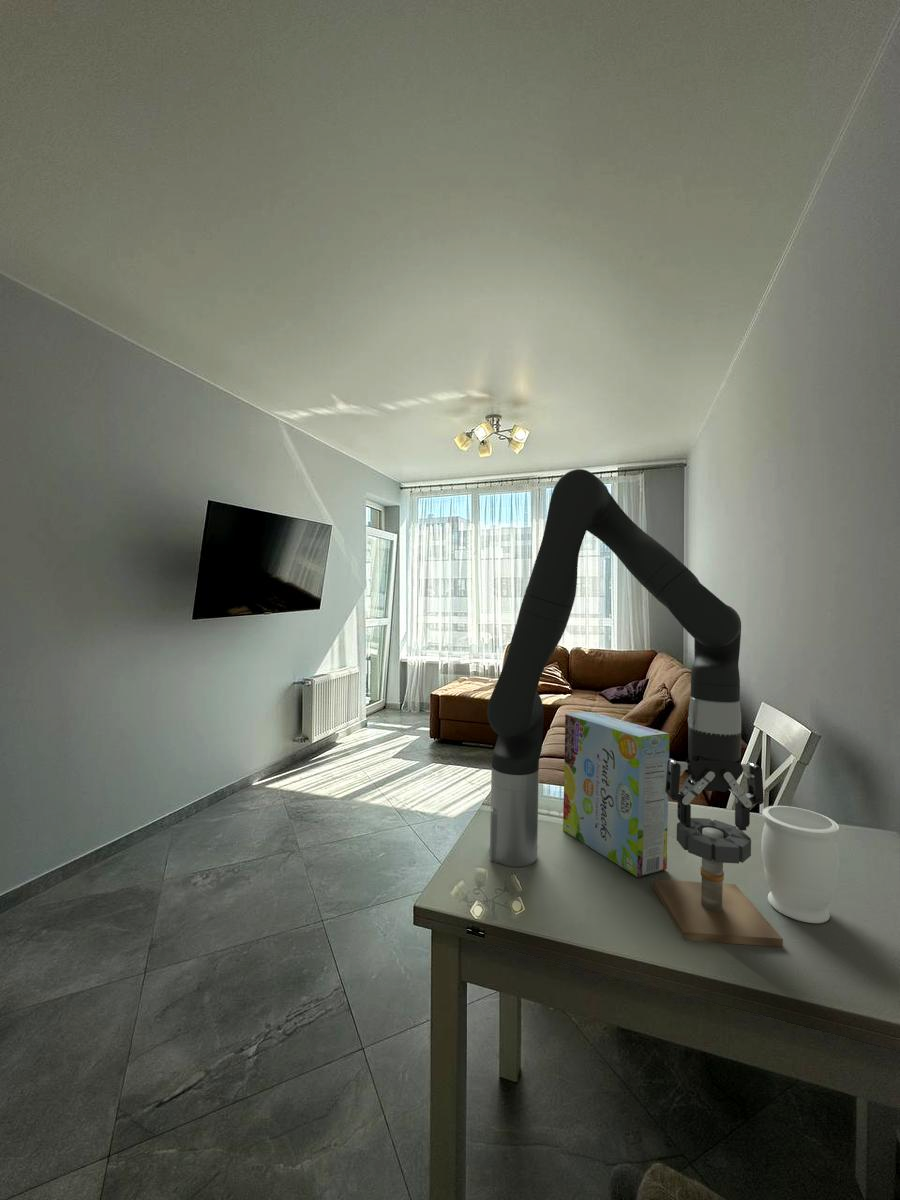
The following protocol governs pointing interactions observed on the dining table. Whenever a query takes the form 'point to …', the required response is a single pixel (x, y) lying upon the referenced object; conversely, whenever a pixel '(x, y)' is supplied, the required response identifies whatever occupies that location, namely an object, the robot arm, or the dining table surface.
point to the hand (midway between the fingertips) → (713, 826)
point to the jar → (800, 861)
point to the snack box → (617, 790)
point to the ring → (714, 841)
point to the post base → (715, 923)
